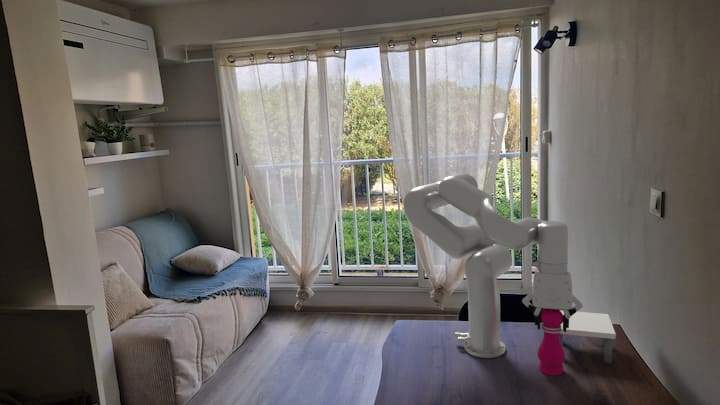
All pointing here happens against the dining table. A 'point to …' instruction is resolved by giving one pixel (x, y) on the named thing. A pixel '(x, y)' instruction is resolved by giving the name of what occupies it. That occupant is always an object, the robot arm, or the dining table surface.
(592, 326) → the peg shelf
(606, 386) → the dining table surface
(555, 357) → the pepper mill
